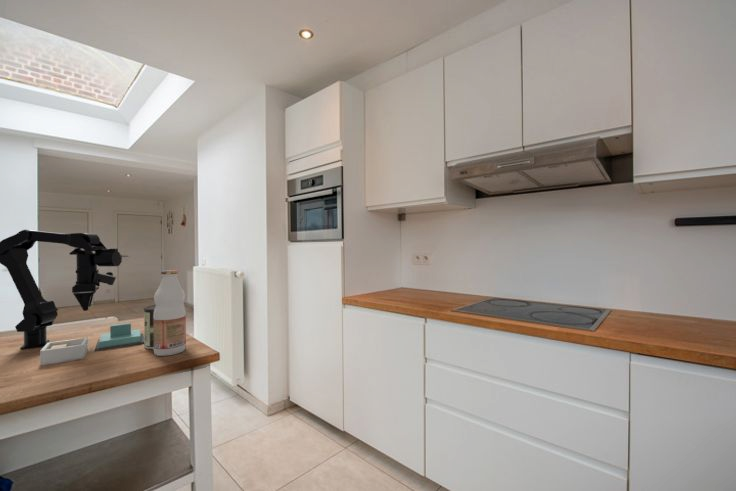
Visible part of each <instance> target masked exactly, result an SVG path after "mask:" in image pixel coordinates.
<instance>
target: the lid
mask: <svg viewBox="0 0 736 491" xmlns="http://www.w3.org/2000/svg"><path fill="white" fill-rule="evenodd" d="M109 329H110V332H106V333H101V335H100V337H99V339H100V340H99V339H98V340H99V348H103V347H109V346H116V345H123V344H129V343H136V342H141V340H140V334H141V329H140V328H138V329H132V323H131V322H124V323H116V324H110V327H109Z"/></svg>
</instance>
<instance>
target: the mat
mask: <svg viewBox="0 0 736 491" xmlns="http://www.w3.org/2000/svg"><path fill="white" fill-rule="evenodd" d="M99 340H100V338H99V339H98V340H97V342H96V345H95V347H94V352H99V351H106V350H112V349H118V348H125V347H131V346H137V345H143V344H144V332H143V333H140V340H141V342H136V343H129V344H123V345H116V346H109V347H103V348H99Z"/></svg>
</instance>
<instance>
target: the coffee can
mask: <svg viewBox="0 0 736 491" xmlns="http://www.w3.org/2000/svg"><path fill="white" fill-rule="evenodd" d="M155 307H156V304H154V305H148V306H146V307H143V311H144V313H143V316H144V318H143V320H144V324H143V325H144V326H143V327H144V328H143V329H144V331H143V334H144V345H143V346H144V349H147V350H154V319H153V316H154V309H155Z"/></svg>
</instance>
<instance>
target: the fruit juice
mask: <svg viewBox="0 0 736 491" xmlns="http://www.w3.org/2000/svg"><path fill="white" fill-rule="evenodd" d="M160 274H161V281H160V284H159V286H158V288H157V290H156V291H155V292H154V295H153V302H154V305H156V307H155V309H154V316H153V319H154V349H153V354H154V355H155V356H158V357H167V356H173V355H178V354H180V353H182V352H184V351H185V350H186V347H187V342H186V341H187V334H186V333H187V332H186V331H187V314H186V313H187V312H186V311H187V310H186V307H185V305H184V304H185V303H184V302H185V299H186V292H185V290H184V289H183V288H182V287H181V286H182V285H181V283H180V281H179V279H178V275H179V271H178V270H177V269H169V270H168V269H166V270H161V272H160Z"/></svg>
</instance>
